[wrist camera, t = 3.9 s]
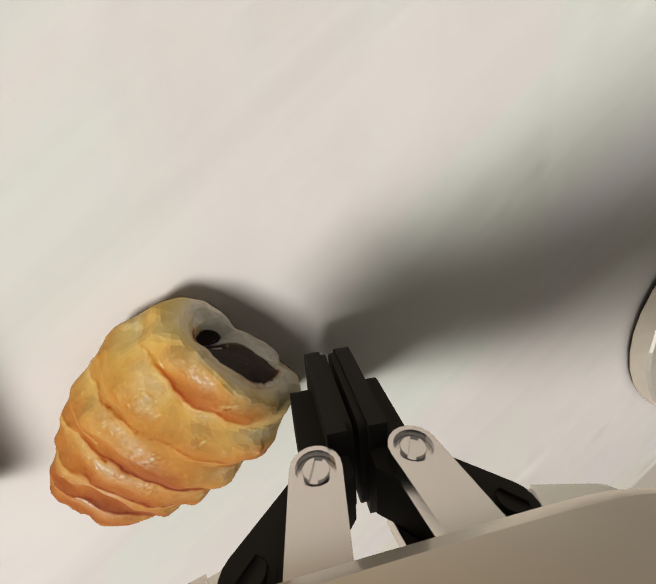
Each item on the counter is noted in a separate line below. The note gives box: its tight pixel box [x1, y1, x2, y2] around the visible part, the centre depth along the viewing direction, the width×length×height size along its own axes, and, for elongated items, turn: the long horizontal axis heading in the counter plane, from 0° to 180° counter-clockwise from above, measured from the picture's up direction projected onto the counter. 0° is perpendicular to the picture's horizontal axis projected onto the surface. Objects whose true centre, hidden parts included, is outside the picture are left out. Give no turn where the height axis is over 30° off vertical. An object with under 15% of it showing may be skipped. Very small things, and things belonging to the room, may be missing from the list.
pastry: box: [50, 297, 300, 526], centre depth 11 cm, size 9×7×4 cm
